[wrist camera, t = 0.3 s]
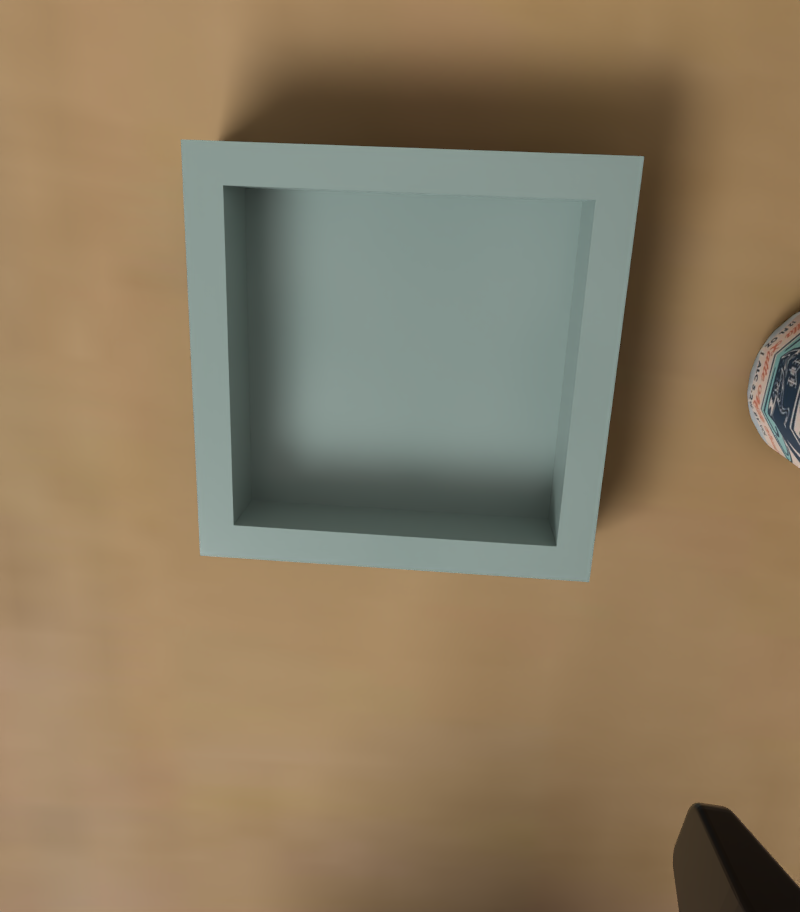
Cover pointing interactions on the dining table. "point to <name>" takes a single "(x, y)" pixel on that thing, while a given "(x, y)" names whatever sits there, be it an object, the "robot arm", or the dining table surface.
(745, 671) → the dining table surface
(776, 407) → the beer can
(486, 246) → the dish
